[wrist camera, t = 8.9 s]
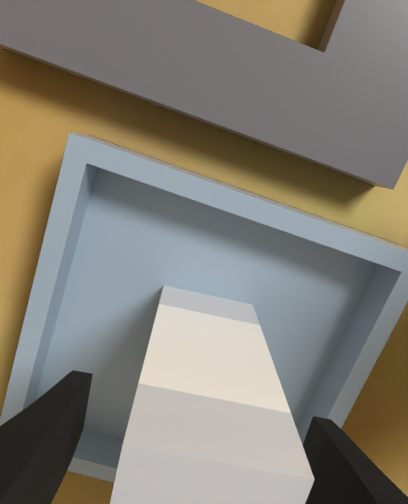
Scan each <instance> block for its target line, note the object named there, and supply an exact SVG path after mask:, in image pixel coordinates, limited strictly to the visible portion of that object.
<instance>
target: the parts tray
mask: <svg viewBox="0 0 408 504" xmlns="http://www.w3.org/2000/svg"><path fill="white" fill-rule="evenodd" d="M164 285H165V286H169V287H174V288H178V289H183V290H188V291H192V292H197V293H201V294H206V295H211V296H215V297H220V298H224V299H229V300H234V301H238V302H243V303H247V304H252V305H253V307H254V310H255V313H256V315H257V318H258V321H259V324H260V327H261V329H262V332H263V335H264V338H265V341H266V344H267V346H268V349H269V352H270V355H271V358H272V361H273V363H274V366H275V369H276V372H277V375H278V378H279V380H280V383H281V386H282V389H283V392H284V394H285V397H286V400H287V403H288V406H289V409H290V411H291V414H292V417H293V420H294V423H295V426H296V428H297V431H298V434H299V437H300V440H301V442H302V445H303V443H304V440H305V437H306V434H307V432H308V429H309V426H310V423H311V420H312V418H313V416H316V417H321V418H326V419H331V420H332V421H333V422H334V423H335V424H336V425H337V426H338V427H339V428H340V429H341V428H342V426H343V424H344V422H345V420H346V418H347V416H348V414H349V413H350V411H351V409H352V407H353V405H354V403H355V401H356V399H357V397H358V395H359V394H360V392H361V390H362V388H363V386H364V384H365V382H366V380H367V378H368V376H369V375H370V373H371V371H372V369H373V367H374V365H375V363H376V361H377V359H378V357H379V356H380V354H381V352H382V350H383V348H384V346H385V344H386V342H387V340H388V338H389V337H390V335H391V333H392V331H393V329H394V327H395V325H396V323H397V321H398V319H399V318H400V316H401V314H402V312H403V310H404V308H405V306H406V304H407V302H408V249H406V248H404V247H402V246H400V245H398V244H396V243H393V242H390V241H387V240H384V239H382V238H379V237H376V236H373V235H370V234H367V233H365V232H362V231H359V230H356V229H353V228H350V227H348V226H345V225H342V224H339V223H336V222H333V221H331V220H328V219H325V218H322V217H319V216H316V215H314V214H311V213H308V212H305V211H302V210H299V209H297V208H294V207H291V206H288V205H285V204H283V203H280V202H277V201H274V200H271V199H268V198H266V197H263V196H260V195H257V194H254V193H251V192H249V191H246V190H243V189H240V188H237V187H234V186H232V185H229V184H226V183H223V182H220V181H217V180H215V179H212V178H209V177H206V176H203V175H200V174H198V173H195V172H192V171H189V170H186V169H184V168H181V167H178V166H175V165H172V164H169V163H167V162H164V161H161V160H158V159H155V158H152V157H150V156H147V155H144V154H141V153H138V152H135V151H133V150H130V149H127V148H124V147H121V146H118V145H116V144H113V143H110V142H107V141H104V140H101V139H99V138H96V137H93V136H90V135H84V134H77V133H70V132H69V136H68V140H67V144H66V149H65V153H64V157H63V161H62V165H61V169H60V173H59V177H58V182H57V186H56V190H55V194H54V198H53V202H52V206H51V211H50V215H49V219H48V223H47V227H46V231H45V235H44V239H43V244H42V248H41V252H40V256H39V260H38V264H37V268H36V273H35V277H34V281H33V285H32V289H31V293H30V297H29V301H28V306H27V310H26V314H25V318H24V322H23V326H22V330H21V335H20V339H19V343H18V347H17V351H16V355H15V359H14V363H13V368H12V372H11V376H10V380H9V384H8V388H7V392H6V397H5V401H4V405H3V409H2V413H1V417H0V426H1V425H2V424H4V423H5V422H7V421H8V420H9V419H11V418H12V417H14V416H15V415H17V414H18V413H20V412H21V411H22V410H24V409H25V408H26V407H28V406H29V405H30V404H32V403H33V402H34V401H35V400H37V399H38V398H39V397H41V396H42V395H43V394H44V393H46V392H47V391H48V390H49V389H51V388H52V387H53V386H54V385H55V384H57V383H58V382H59V381H60V380H61V379H62V378H64V377H65V376H66V375H67V374H68V373H69V372H71V371H73V370H75V371H81V372H86V373H91V374H93V376H92V381H91V387H90V393H89V399H88V405H87V411H86V416H85V422H84V428H83V431H82V434H81V436H80V439H79V442H78V445H77V448H76V450H75V453H74V456H73V458H72V461H71V463H70V465H69V467H68V469H67V471H70V472H74V473H78V474H82V475H86V476H89V477H93V478H97V479H101V480H105V481H109V482H113V483H114V482H115V477H116V473H117V468H118V463H119V459H120V454H121V450H122V445H123V441H124V437H125V433H126V430H127V426H128V422H129V418H130V414H131V410H132V406H133V402H134V399H135V395H136V391H137V387H138V383H139V379H140V375H141V371H142V367H143V364H144V360H145V356H146V352H147V348H148V344H149V340H150V336H151V333H152V329H153V325H154V321H155V317H156V313H157V309H158V305H159V302H160V298H161V294H162V290H163V286H164Z"/></svg>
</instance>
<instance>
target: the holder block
mask: <svg viewBox="0 0 408 504" xmlns="http://www.w3.org/2000/svg"><path fill="white" fill-rule="evenodd" d="M0 47H1V48H3V49H6V50H8V51H11V52H14V53H16V54H19V55H22V56H25V57H27V58H30V59H33V60H35V61H38V62H41V63H44V64H46V65H49V66H52V67H54V68H57V69H60V70H63V71H65V72H68V73H71V74H73V75H76V76H79V77H82V78H84V79H87V80H90V81H92V82H95V83H98V84H101V85H103V86H106V87H109V88H111V89H114V90H117V91H120V92H122V93H125V94H128V95H130V96H133V97H136V98H139V99H141V100H144V101H147V102H149V103H152V104H155V105H158V106H160V107H163V108H166V109H168V110H171V111H174V112H177V113H179V114H182V115H185V116H187V117H190V118H193V119H195V120H198V121H201V122H204V123H206V124H209V125H212V126H214V127H217V128H220V129H223V130H225V131H228V132H231V133H233V134H236V135H239V136H242V137H244V138H247V139H250V140H252V141H255V142H258V143H261V144H263V145H266V146H269V147H271V148H274V149H277V150H280V151H282V152H285V153H288V154H290V155H293V156H296V157H299V158H301V159H304V160H307V161H309V162H312V163H315V164H318V165H320V166H323V167H326V168H328V169H331V170H334V171H337V172H339V173H342V174H345V175H347V176H350V177H353V178H356V179H358V180H361V181H364V182H366V183H369V184H372V185H374V186H379V187H384V188H389V189H394V187H395V185H396V183H397V181H398V179H399V177H400V175H401V173H402V171H403V168H404V166H405V164H406V162H407V160H408V0H336V2H335V4H334V7H333V10H332V12H331V15H330V17H329V20H328V22H327V25H326V28H325V30H324V33H323V35H322V38H321V41H320V43H319V46H318V48H317V50H316V49H314V48H311V47H309V46H306V45H304V44H301V43H299V42H297V41H294V40H292V39H289V38H287V37H284V36H282V35H279V34H277V33H274V32H272V31H269V30H267V29H264V28H262V27H259V26H257V25H254V24H252V23H249V22H247V21H244V20H242V19H239V18H237V17H234V16H232V15H229V14H227V13H224V12H222V11H220V10H217V9H215V8H212V7H210V6H207V5H205V4H202V3H200V2H197V1H195V0H0Z"/></svg>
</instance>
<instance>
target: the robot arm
mask: <svg viewBox="0 0 408 504" xmlns="http://www.w3.org/2000/svg"><path fill="white" fill-rule="evenodd" d="M92 376H93V374H91V373H86V372H81V371H75V370H73V371H71V372H69V373H68V374H67V375H66V376H65V377H64V378H62V379H61V380H60V381H59V382H58V383H57V384H55V385H54V386H53V387H52V388H51V389H49V390H48V391H47V392H46V393H44V394H43V395H42V396H41V397H39V398H38V399H37V400H35V401H34V402H33V403H32V404H30V405H29V406H28V407H26V408H25V409H24V410H22V411H21V412H20V413H18V414H17V415H15V416H14V417H12V418H11V419H9V420H8V421H7V422H5V423H4V424H2V425H1V426H0V504H51V502H52V500H53V498H54V496H55V494H56V492H57V490H58V488H59V486H60V484H61V482H62V480H63V478H64V475H65V473H66V471H67V469H68V467H69V465H70V463H71V461H72V458H73V456H74V453H75V450H76V448H77V445H78V442H79V439H80V436H81V434H82V431H83V428H84V422H85V416H86V411H87V405H88V399H89V393H90V387H91V381H92ZM303 448H304V451H305V454H306V457H307V459H308V462H309V465H310V468H311V471H312V474H313V476H314V479H315V480H314V482H313V485H312V487H311V490H310V492H309V495H308V498H307V500H306V503H305V504H408V497H407V496H406V495H405V494H404V493H403V492H402V491H401V490H400V489H399V488H398V487H397V486H396V485H395V484H394V483H393V482H392V481H391V480H390V479H389V478H388V477H387V476H386V475H385V474H384V473H383V472H382V471H381V470H380V469H379V468H378V467H377V466H376V465H375V464H374V463H373V462H372V461H371V460H370V459H369V458H368V457H367V456H366V455H365V454H364V453H363V452H362V451H361V449H360V448H359V447H358V446H357V445H356V444H355V443H354V442H353V441H352V440H351V439H350V438H349V437H348V436H347V435H346V434H345V433H344V432H343V431H342V430H341V429H340V428H339V427H338V426H337V425H336V424H335V423H334V422H333V421H332V420H331V419H326V418H321V417H316V416H313V418H312V420H311V423H310V426H309V429H308V432H307V434H306V437H305V440H304V443H303Z"/></svg>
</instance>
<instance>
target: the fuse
mask: <svg viewBox="0 0 408 504" xmlns="http://www.w3.org/2000/svg"><path fill="white" fill-rule="evenodd" d="M314 480H315V479H314V476H313V474H312V471H311V468H310V465H309V462H308V459H307V457H306V454H305V451H304V448H303V445H302V442H301V440H300V437H299V434H298V431H297V428H296V426H295V423H294V420H293V417H292V414H291V411H290V409H289V406H288V403H287V400H286V397H285V394H284V392H283V389H282V386H281V383H280V380H279V378H278V375H277V372H276V369H275V366H274V363H273V361H272V358H271V355H270V352H269V349H268V346H267V344H266V341H265V338H264V335H263V332H262V329H261V327H260V324H259V321H258V318H257V315H256V313H255V310H254V307H253V305H252V304H247V303H243V302H238V301H234V300H229V299H224V298H220V297H215V296H211V295H206V294H201V293H197V292H192V291H188V290H183V289H178V288H174V287H169V286H165V285H164V286H163V290H162V294H161V298H160V302H159V305H158V309H157V313H156V317H155V321H154V325H153V329H152V333H151V336H150V340H149V344H148V348H147V352H146V356H145V360H144V364H143V367H142V371H141V375H140V379H139V383H138V387H137V391H136V395H135V399H134V402H133V406H132V410H131V414H130V418H129V422H128V426H127V430H126V433H125V437H124V441H123V445H122V450H121V454H120V459H119V463H118V468H117V473H116V477H115V482H114V486H113V491H112V496H111V500H110V504H305V503H306V500H307V498H308V495H309V492H310V490H311V487H312V485H313V482H314Z"/></svg>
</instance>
